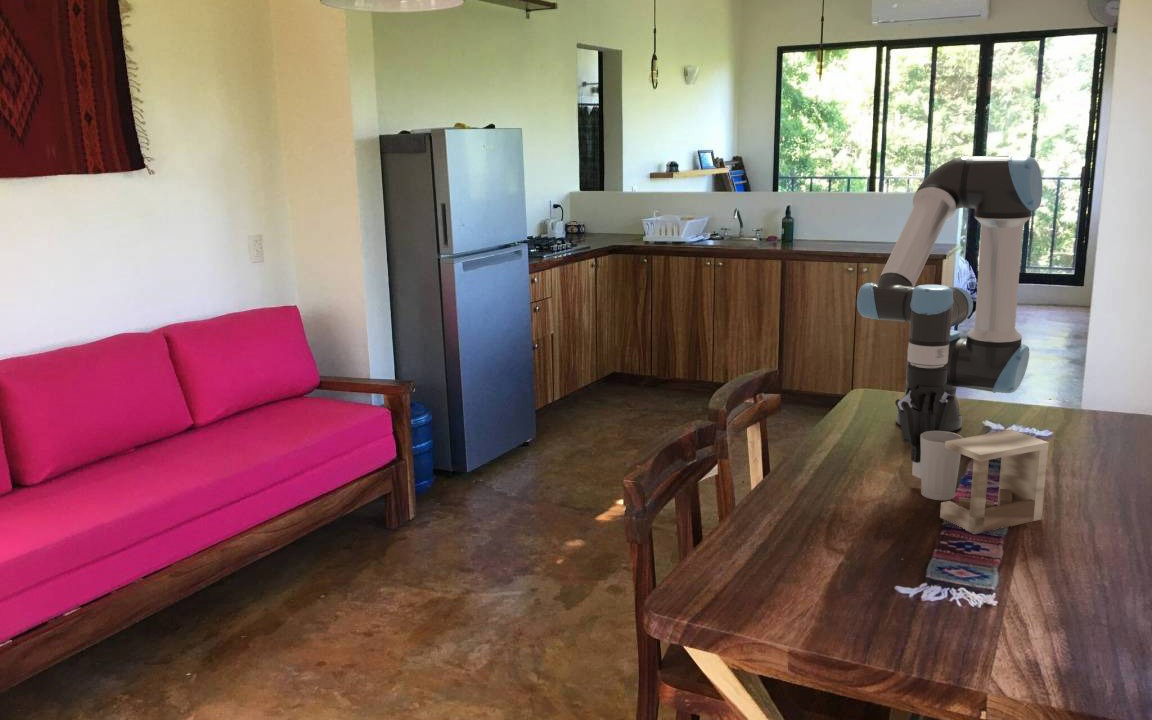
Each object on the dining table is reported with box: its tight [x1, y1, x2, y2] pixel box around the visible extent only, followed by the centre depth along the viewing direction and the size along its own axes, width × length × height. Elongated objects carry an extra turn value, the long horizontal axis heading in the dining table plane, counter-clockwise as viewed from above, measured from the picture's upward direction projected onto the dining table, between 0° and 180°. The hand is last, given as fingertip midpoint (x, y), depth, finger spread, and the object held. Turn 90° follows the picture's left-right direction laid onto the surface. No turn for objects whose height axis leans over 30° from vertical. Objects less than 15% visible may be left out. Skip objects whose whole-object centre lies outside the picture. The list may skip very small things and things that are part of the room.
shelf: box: [939, 429, 1050, 535], centre depth 172 cm, size 8×16×15 cm, turn 112°
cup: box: [920, 431, 964, 501], centre depth 184 cm, size 8×8×12 cm
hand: (919, 476), depth 190 cm, fingers closed
